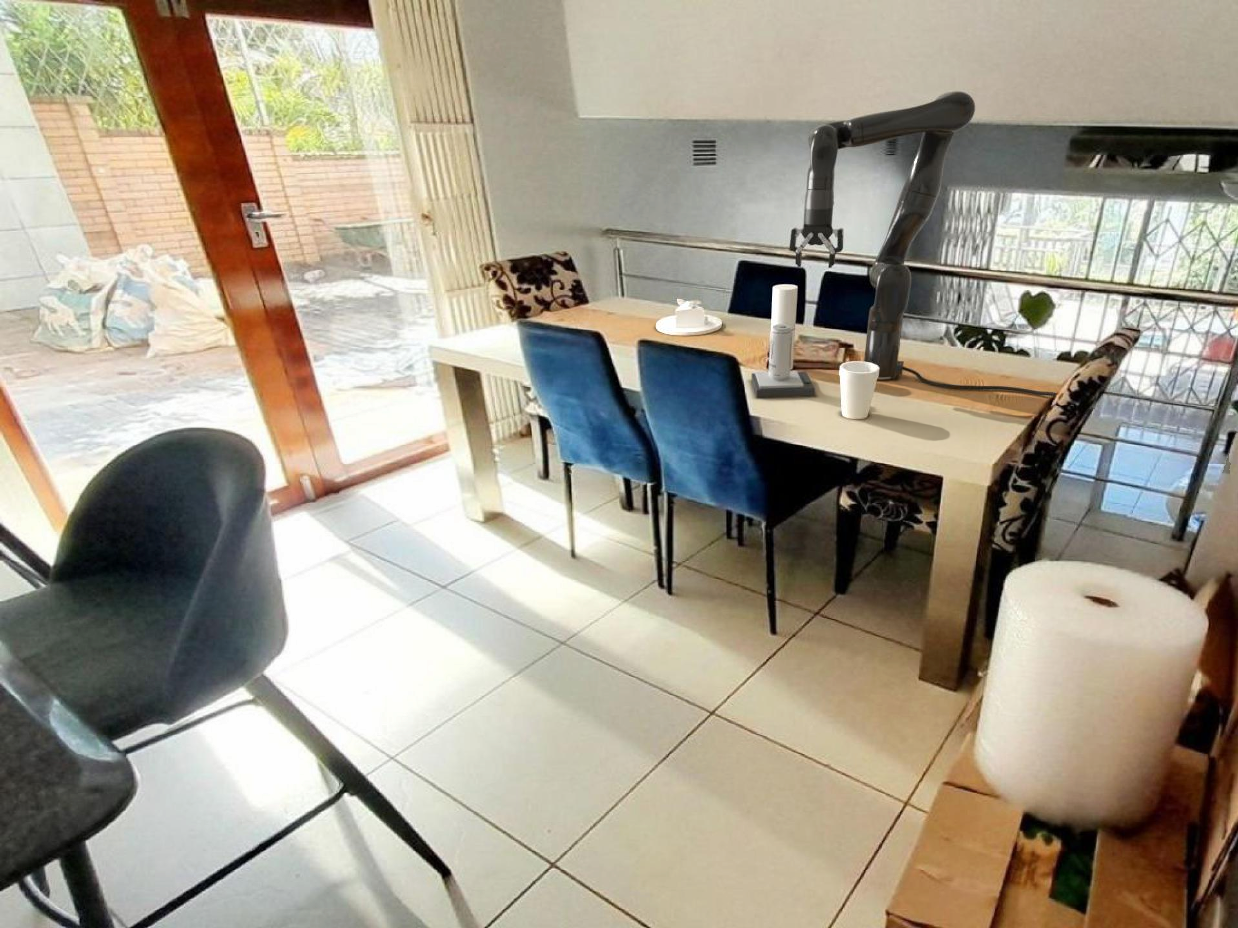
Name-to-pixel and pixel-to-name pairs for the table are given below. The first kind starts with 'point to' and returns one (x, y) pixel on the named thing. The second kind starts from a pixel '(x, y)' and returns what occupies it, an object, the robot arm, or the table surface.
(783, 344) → the energy drink can
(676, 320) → the dish
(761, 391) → the scale
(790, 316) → the cylindrical container
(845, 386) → the foam cup
